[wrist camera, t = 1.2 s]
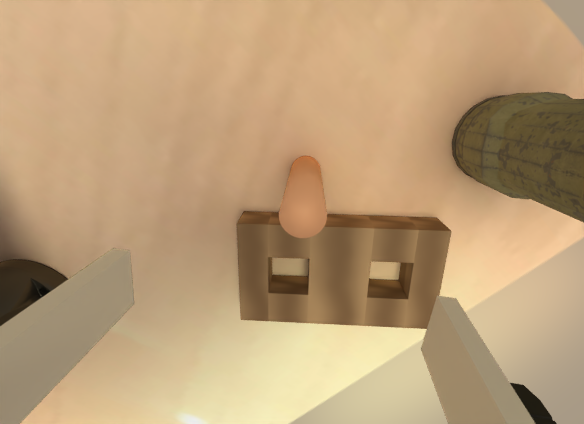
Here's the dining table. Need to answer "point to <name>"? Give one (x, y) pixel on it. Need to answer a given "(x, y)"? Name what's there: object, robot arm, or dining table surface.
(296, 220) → the peg
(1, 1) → the dining table surface
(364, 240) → the hole block
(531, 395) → the robot arm
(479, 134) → the thermos
